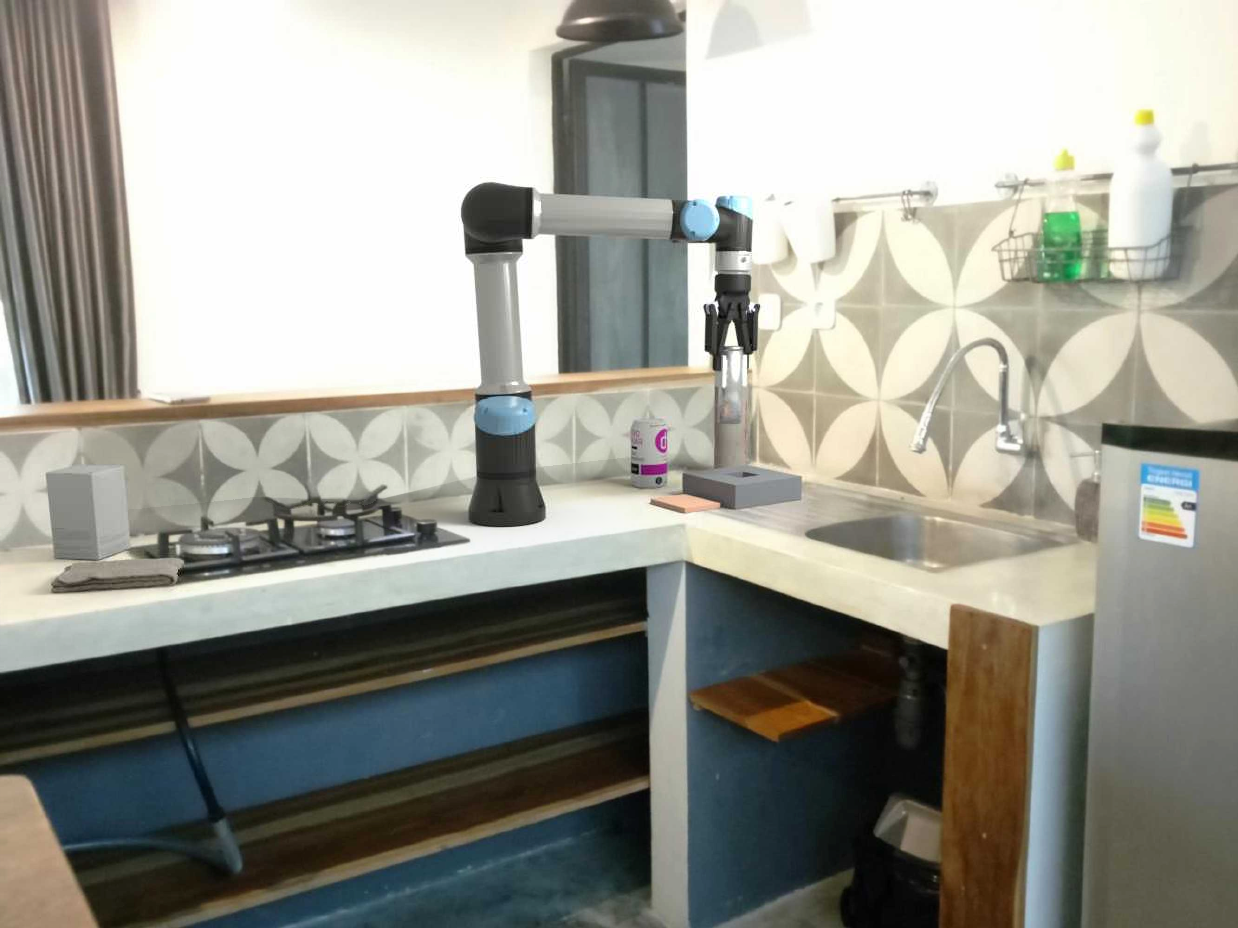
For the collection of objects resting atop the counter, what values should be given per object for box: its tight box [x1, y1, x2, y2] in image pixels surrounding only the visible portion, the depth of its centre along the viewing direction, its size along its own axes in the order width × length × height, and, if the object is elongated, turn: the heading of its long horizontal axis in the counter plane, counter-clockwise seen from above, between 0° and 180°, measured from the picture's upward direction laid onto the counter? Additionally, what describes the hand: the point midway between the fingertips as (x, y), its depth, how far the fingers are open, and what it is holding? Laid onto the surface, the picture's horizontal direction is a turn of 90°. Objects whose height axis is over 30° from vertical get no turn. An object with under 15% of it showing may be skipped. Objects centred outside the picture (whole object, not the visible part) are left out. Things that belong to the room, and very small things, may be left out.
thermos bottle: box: [713, 381, 750, 469], centre depth 257 cm, size 8×8×28 cm
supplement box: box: [45, 464, 132, 561], centre depth 187 cm, size 9×9×15 cm
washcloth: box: [50, 557, 185, 594], centre depth 171 cm, size 12×18×3 cm, turn 104°
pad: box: [650, 494, 721, 514], centre depth 225 cm, size 9×12×1 cm
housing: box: [681, 464, 803, 510], centre depth 233 cm, size 18×18×5 cm
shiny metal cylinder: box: [718, 345, 743, 424], centre depth 228 cm, size 5×5×16 cm
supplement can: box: [630, 417, 668, 489], centre depth 247 cm, size 8×8×15 cm
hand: (730, 386), depth 228 cm, fingers closed on shiny metal cylinder, 5 cm apart
